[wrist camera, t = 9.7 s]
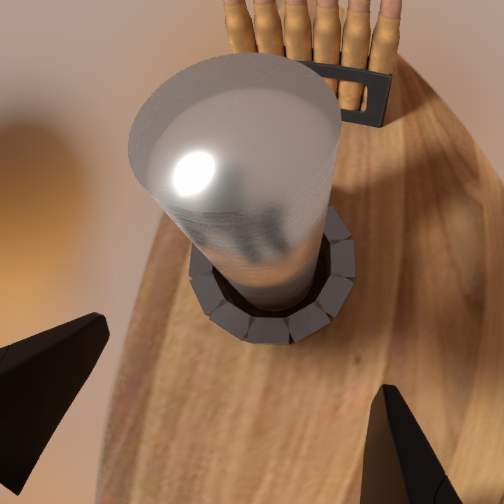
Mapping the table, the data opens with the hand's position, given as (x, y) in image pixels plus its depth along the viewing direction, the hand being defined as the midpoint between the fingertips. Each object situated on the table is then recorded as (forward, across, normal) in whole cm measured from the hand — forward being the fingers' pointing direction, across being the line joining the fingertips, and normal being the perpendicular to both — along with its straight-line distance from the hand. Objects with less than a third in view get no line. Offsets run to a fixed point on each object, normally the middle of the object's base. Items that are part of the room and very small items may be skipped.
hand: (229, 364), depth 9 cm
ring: (+9, 0, +2) cm, 9 cm away
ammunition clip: (+18, 0, -7) cm, 19 cm away
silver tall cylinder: (+9, 0, +2) cm, 9 cm away
